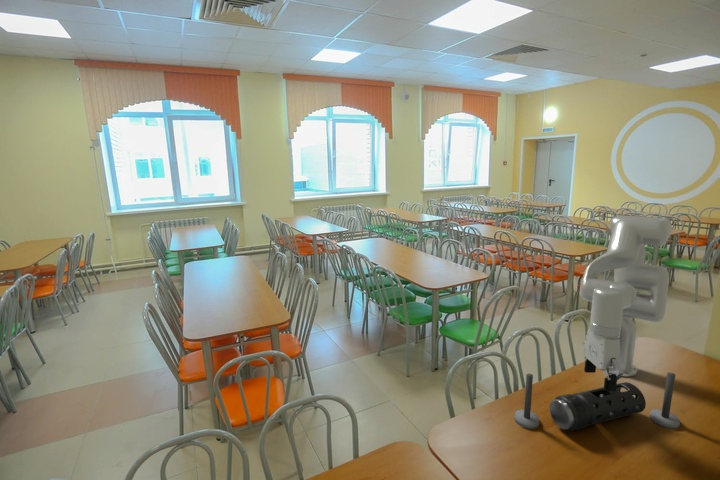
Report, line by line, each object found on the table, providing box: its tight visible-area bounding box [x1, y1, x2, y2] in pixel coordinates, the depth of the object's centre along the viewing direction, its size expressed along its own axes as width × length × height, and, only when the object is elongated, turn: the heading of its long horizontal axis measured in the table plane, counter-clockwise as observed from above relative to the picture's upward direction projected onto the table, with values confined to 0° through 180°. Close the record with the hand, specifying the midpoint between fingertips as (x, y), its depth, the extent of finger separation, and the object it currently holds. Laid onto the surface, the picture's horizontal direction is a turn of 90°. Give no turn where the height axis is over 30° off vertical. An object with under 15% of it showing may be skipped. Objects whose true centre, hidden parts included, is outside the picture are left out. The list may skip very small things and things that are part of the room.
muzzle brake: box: [549, 381, 647, 431], centre depth 111 cm, size 10×28×10 cm, turn 105°
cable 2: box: [649, 372, 681, 430], centre depth 109 cm, size 7×7×16 cm
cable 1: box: [514, 373, 540, 430], centre depth 111 cm, size 7×7×16 cm
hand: (599, 380), depth 109 cm, fingers open, 9 cm apart
